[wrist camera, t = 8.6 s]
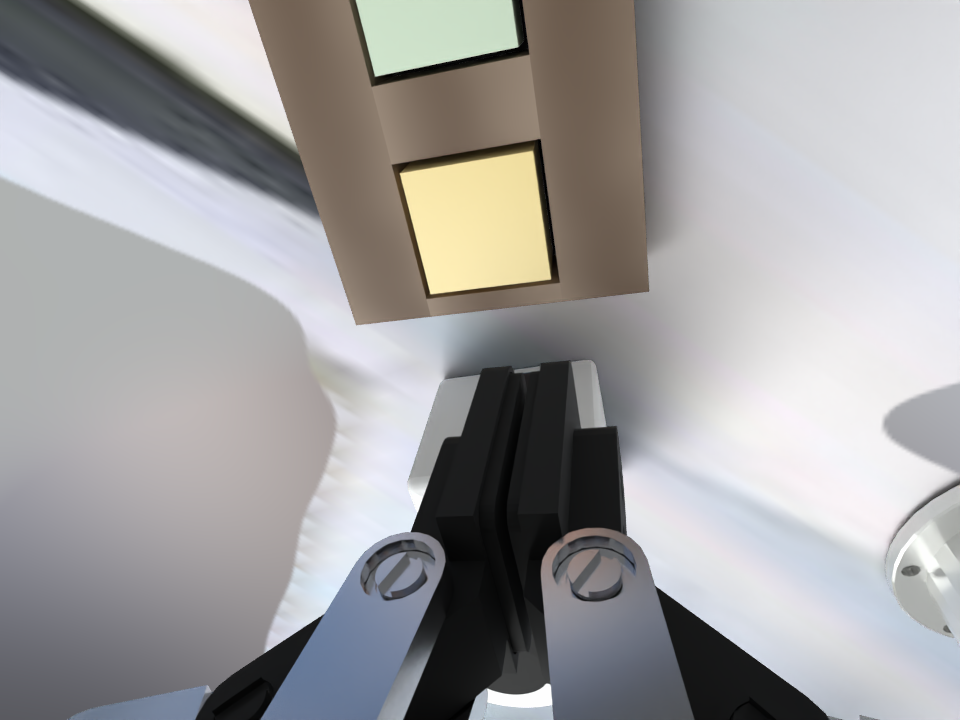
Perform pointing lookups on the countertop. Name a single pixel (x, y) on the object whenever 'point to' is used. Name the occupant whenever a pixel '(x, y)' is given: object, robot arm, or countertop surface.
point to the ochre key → (480, 217)
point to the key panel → (467, 146)
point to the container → (441, 424)
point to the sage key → (436, 30)
